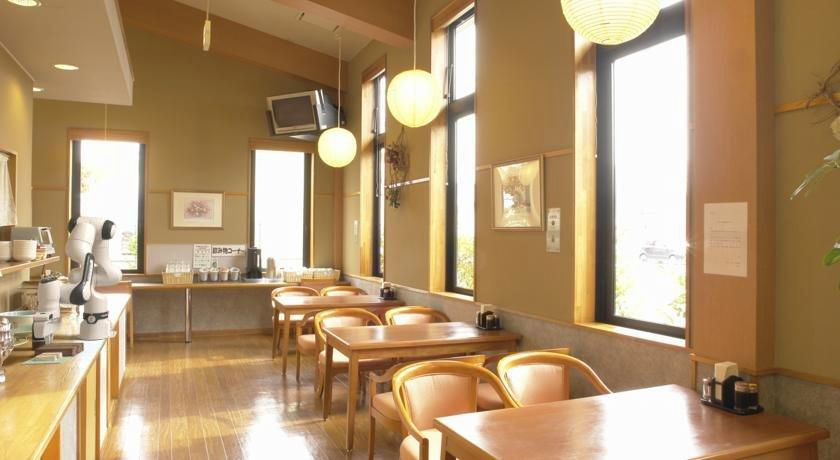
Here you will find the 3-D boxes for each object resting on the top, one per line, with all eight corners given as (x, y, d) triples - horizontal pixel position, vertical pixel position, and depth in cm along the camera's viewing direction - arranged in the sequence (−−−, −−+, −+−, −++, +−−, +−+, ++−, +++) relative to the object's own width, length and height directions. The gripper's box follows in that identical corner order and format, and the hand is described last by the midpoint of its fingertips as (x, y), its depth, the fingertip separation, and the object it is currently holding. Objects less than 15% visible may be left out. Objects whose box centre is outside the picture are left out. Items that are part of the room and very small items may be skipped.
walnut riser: (48, 351, 287) (48, 343, 287) (83, 350, 290) (83, 342, 290) (34, 358, 274) (34, 349, 274) (72, 357, 276) (72, 348, 276)
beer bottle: (54, 347, 297) (54, 299, 297) (42, 350, 289) (42, 301, 289) (39, 347, 298) (39, 299, 297) (28, 350, 290) (28, 301, 290)
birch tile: (43, 357, 274) (43, 352, 274) (62, 356, 276) (62, 352, 276) (35, 361, 266) (35, 356, 266) (54, 360, 268) (54, 356, 268)
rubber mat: (34, 358, 273) (34, 357, 273) (71, 357, 276) (71, 356, 276) (21, 364, 261) (21, 363, 261) (60, 363, 264) (60, 362, 264)
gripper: (51, 310, 281) (51, 338, 281) (30, 317, 261) (30, 348, 261) (66, 309, 282) (66, 338, 282) (46, 317, 262) (46, 348, 262)
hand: (48, 343), depth 271 cm, fingers closed
